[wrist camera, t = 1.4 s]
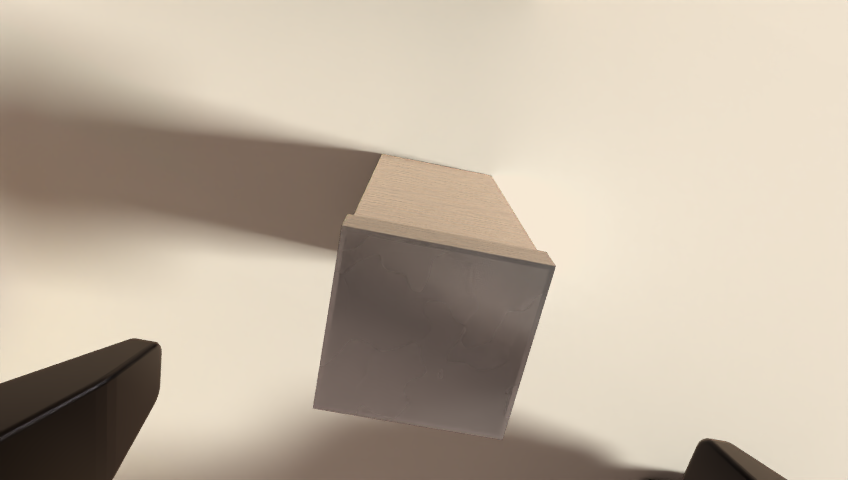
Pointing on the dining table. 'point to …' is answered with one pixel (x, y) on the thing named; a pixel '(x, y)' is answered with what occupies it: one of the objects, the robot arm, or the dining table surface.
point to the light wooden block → (431, 302)
